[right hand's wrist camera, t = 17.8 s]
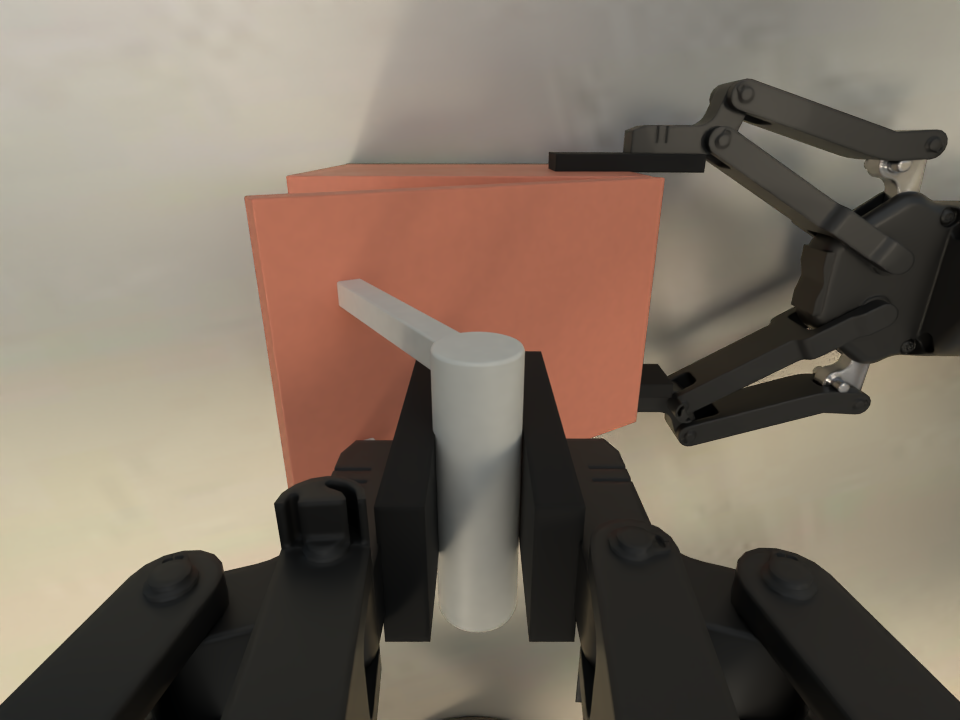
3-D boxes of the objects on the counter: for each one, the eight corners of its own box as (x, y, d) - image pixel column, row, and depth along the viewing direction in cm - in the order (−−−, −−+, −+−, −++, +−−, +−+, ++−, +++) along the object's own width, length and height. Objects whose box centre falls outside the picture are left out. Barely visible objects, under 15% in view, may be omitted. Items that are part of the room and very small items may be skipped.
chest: (362, 332, 35) (314, 412, 25) (348, 163, 32) (285, 175, 21) (583, 332, 35) (626, 412, 25) (596, 163, 32) (652, 176, 21)
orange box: (293, 526, 18) (407, 755, 11) (243, 195, 14) (370, 247, 7) (621, 414, 25) (806, 512, 18) (646, 176, 21) (891, 193, 15)
